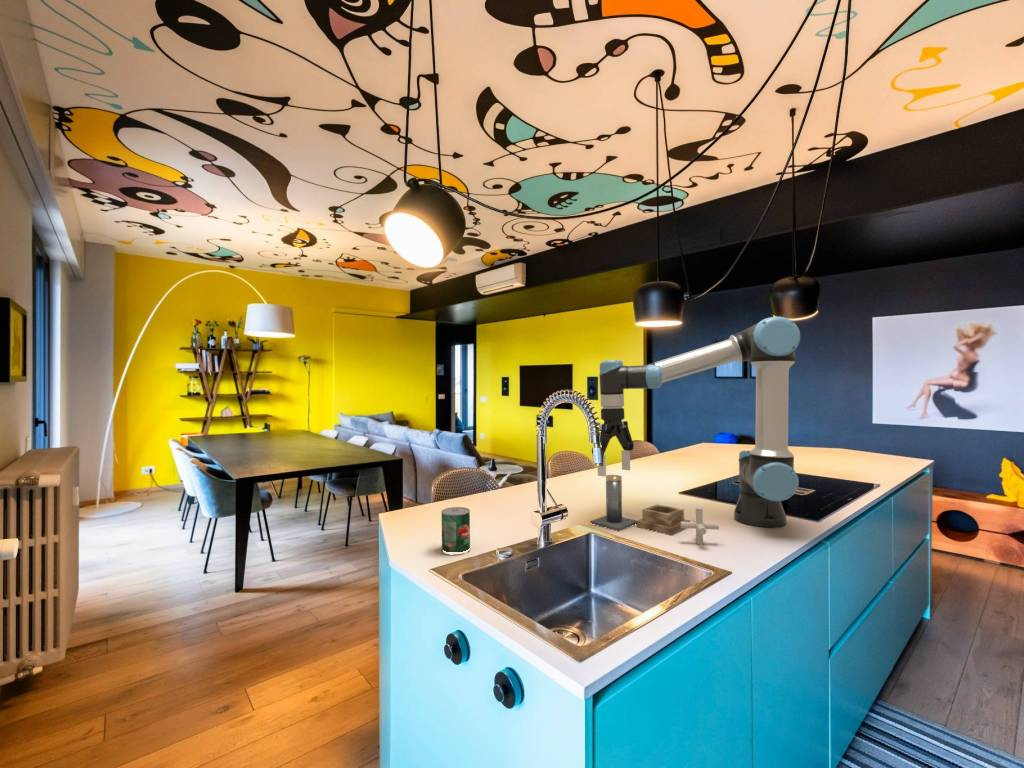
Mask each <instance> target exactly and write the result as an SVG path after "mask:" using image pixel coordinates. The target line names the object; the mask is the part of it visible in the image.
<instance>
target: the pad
mask: <svg viewBox="0 0 1024 768" xmlns="http://www.w3.org/2000/svg"><path fill="white" fill-rule="evenodd" d="M636 521H637V520H635V519H632V518H628V517H623V516H622V522H620V523H610V522H607V521H606V515H603V516H601V517H599V518H598V517H597V518H595V519H591V520H590V521H589V524H590V523H592V524H595V525H594V526H596V525H599V526H598V527H600V526H602V527H601V528H604V527H606V528H605V529H608V528H609V529H608V530H612V529H613V531H616V530H617V531H616V532H620V530H621V531H623V529H624V530H626V529H628V528H627V527H629V528H631V527H633V526H632V525H634V526H636V525H635V524H636ZM592 524H591V525H592ZM630 526H631V527H630ZM625 528H626V529H625Z"/></svg>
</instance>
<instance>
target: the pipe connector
mask: <svg viewBox="0 0 1024 768" xmlns="http://www.w3.org/2000/svg"><path fill="white" fill-rule="evenodd" d="M703 509H704V508H703V507H695V517H694V518H693V519H692V521H690V522H680V526H681V528H687V529H695V544H696V545H701V544H702V545H704V535H706V534H707V530H715V531H718V530H720V526H719V523H718V522H704V520H703V519H704V516H703V515H704V514H703V511H704V510H703Z"/></svg>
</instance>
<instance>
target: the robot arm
mask: <svg viewBox="0 0 1024 768" xmlns="http://www.w3.org/2000/svg"><path fill="white" fill-rule="evenodd" d="M800 341H801V332H800V329H799V327H798V326H797V324H796V323H795V322H794V321H792V320H791V319H789V318H788V317H783V316H771V317H767V318H766V317H765V318H763V319H762V320H761V321H759V322H757V323H755V324H753V325H751V326H750V327H748V328H746V329H744V330H742V331H739V332H736V333H733V334H731V335H730V336H729V338H728V339H725V340H722V341H718V342H715V343H711V344H709V345H705V346H703V347H699V348H696V349H693V350H690V351H687V352H684V353H680V354H677V355H673V356H669V357H668V358H664V359H661V360H658V361H655V362H652V363H649V364H644V365H643V364H642V365H641V364H640V365H624V361H623V360H621V359H616V360H615V359H613V360H611V359H609V360H602V361H601V362H600V363H599V393H600V407H601V409H600V419H601V420H602V421H603V423H598V424H599V427H600V431H601V445H602V451H603V464H602V465H601V466H597V476H599V477H605V478H606V475H607V459H606V458H607V457H606V456H607V455H605V452H606V451H607V448H608V445H609V443H610V441H611V439H612V438H613V437H616V439H617V442H619V445H620V446H621V448H622V450H621V470H623V471H624V470H625V471H631V451H633V450H634V447H635V444H634V441H633V438H632V436H631V432H630V430H629V422H628V421H627V420H624V419H625V418H626V417H625V409H624V406H625V394H624V392H625V391H624V390H631V389H632V390H639V389H642V390H643V389H650V390H651V389H652V390H653V389H660V388H661V387H662V384H664V383H666V382H671V381H673V380H675V379H680V378H684V377H686V376H690V375H692V374H696V373H700V372H702V371H706V370H710V369H712V368H713V369H714V368H716V367H717V368H718V367H720V366H724V365H726V364H731V363H733V362H738V363H740V364H741V363H744V362H749V361H750V364H751V365H752V366H753V367H754V368H755V437H754V438H755V439H754V440H755V441H754V442H755V446H754V448H752V449H751V450H741V451H739V455H738V471H739V476H738V477H739V478H738V479H739V496H738V499H737V501H736V505H735V509H734V511H733V516H734V517H733V518H734V520H736V521H737V522H738V523H742V524H745V525H750V526H755V527H761V528H762V527H765V528H778V526H780V527H783V525H784V526H786V525H787V515H786V513H785V510H784V507H783V503H782V502H783V501H786V500H789V499H790V498H791V497H793V496H794V495H795V493H796V492H797V491H798V489H799V483H800V481H799V480H800V479H799V476H798V474H797V472H796V470H795V469H794V468H795V467H794V464H795V455H794V454H793V453H792V452H791V451H790V450H789V389H790V388H789V386H790V385H789V384H790V383H789V380H790V379H789V377H790V368H791V366H793V365H794V364H795V363H796V349H797V348H798V346H799V344H800V343H801V342H800ZM591 453H592V454H593V448H592V449H591ZM593 455H594V454H593ZM785 524H786V525H785Z"/></svg>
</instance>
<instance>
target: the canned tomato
mask: <svg viewBox="0 0 1024 768" xmlns="http://www.w3.org/2000/svg"><path fill="white" fill-rule="evenodd" d="M470 511H471V510H470V509H469V508H468V507H464V506H463V507H462V506H453V507H447V508H444V509H442V510H441V511H440V512H441V550H442V549H443V550H444V551H446V552H463V551H466V550H468V549H469V548H470V549H471V517H470V516H471V515H470V513H471V512H470Z"/></svg>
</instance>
